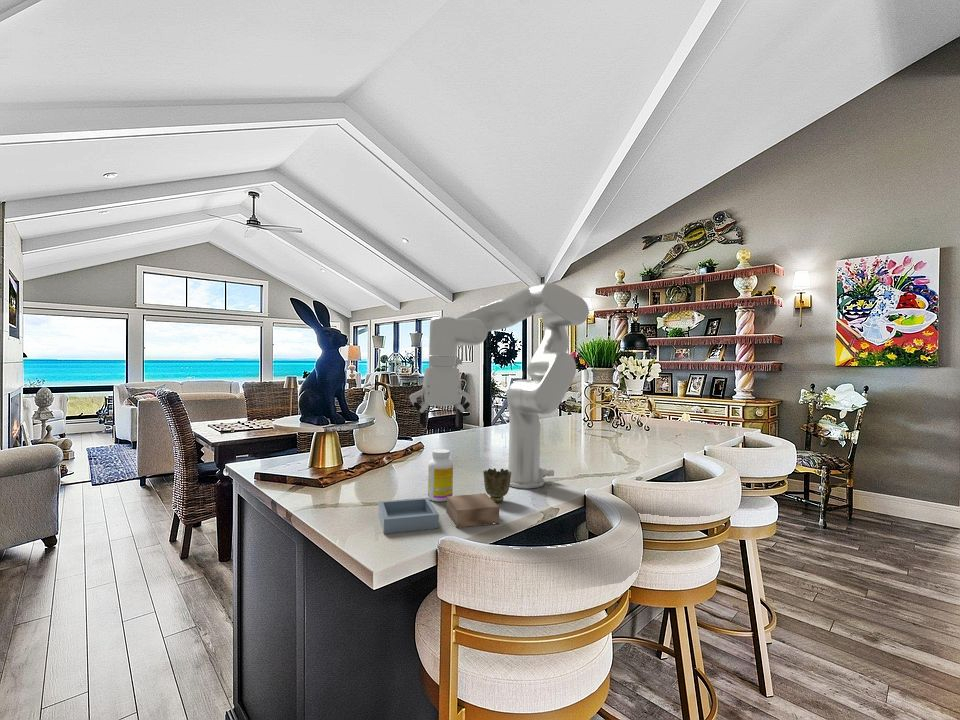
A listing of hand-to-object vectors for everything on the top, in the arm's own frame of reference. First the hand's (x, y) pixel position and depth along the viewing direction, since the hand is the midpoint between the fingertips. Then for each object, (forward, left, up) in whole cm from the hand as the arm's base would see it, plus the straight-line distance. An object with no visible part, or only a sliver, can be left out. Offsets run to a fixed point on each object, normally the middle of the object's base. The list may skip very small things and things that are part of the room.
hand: (440, 426), depth 119 cm
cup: (-14, +6, -20) cm, 25 cm away
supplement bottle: (0, 0, -20) cm, 20 cm away
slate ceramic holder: (+11, +14, -19) cm, 26 cm away
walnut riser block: (-4, +16, -19) cm, 25 cm away
